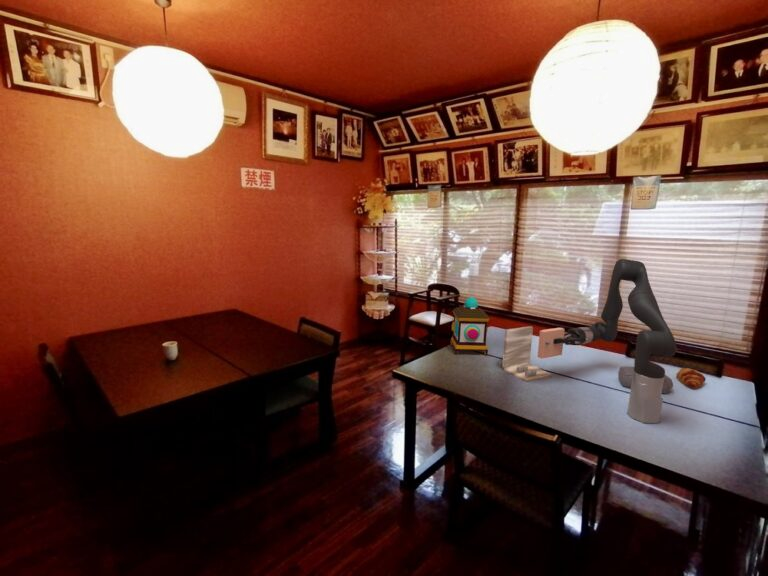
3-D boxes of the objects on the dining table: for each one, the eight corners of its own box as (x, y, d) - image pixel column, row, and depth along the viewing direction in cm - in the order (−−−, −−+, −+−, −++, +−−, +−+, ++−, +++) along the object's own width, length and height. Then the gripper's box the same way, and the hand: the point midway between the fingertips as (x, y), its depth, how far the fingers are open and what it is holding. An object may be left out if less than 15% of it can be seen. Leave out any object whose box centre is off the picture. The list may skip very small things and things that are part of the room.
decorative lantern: (490, 357, 197) (494, 301, 191) (453, 356, 197) (456, 300, 191) (481, 344, 216) (485, 293, 211) (447, 343, 217) (450, 293, 211)
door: (563, 355, 165) (566, 329, 162) (543, 359, 160) (546, 332, 158) (557, 353, 168) (560, 327, 165) (537, 356, 163) (539, 330, 161)
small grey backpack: (621, 389, 162) (677, 398, 154) (623, 371, 161) (680, 379, 153) (615, 376, 176) (666, 384, 168) (617, 359, 174) (669, 366, 166)
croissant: (677, 379, 181) (670, 364, 182) (702, 374, 176) (695, 358, 177) (684, 395, 164) (676, 378, 164) (712, 391, 158) (704, 373, 159)
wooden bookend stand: (551, 376, 173) (556, 335, 170) (525, 382, 167) (529, 339, 163) (527, 364, 187) (530, 326, 184) (502, 369, 181) (505, 329, 177)
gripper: (567, 323, 175) (539, 327, 168) (594, 332, 163) (565, 337, 156) (565, 339, 177) (538, 343, 170) (592, 348, 164) (563, 354, 157)
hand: (551, 340), depth 163 cm, fingers closed on door, 2 cm apart
